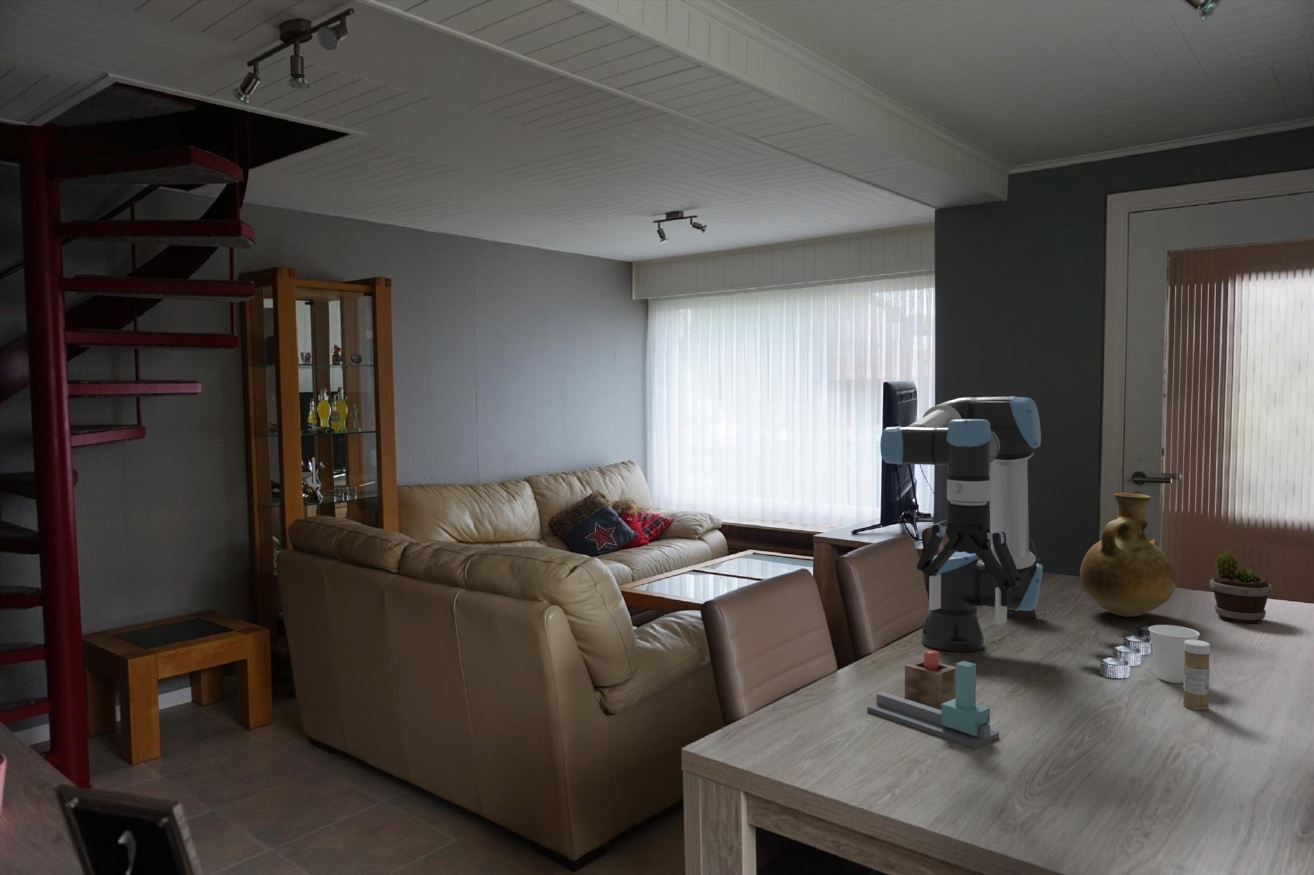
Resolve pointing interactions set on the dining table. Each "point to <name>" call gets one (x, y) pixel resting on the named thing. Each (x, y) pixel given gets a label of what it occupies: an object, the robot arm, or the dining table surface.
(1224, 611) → the flowerpot
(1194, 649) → the sprinkles bottle
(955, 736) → the rail bed
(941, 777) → the dining table surface
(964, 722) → the carriage
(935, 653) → the cylinder
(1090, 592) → the vase
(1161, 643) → the cup
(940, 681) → the open wooden box
